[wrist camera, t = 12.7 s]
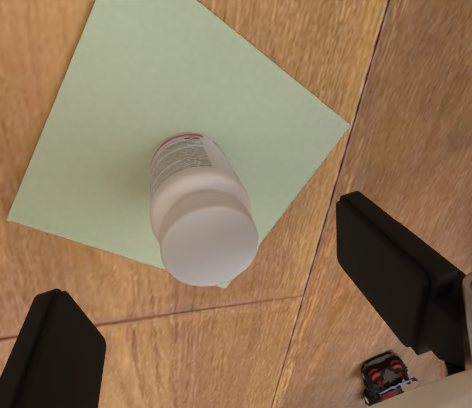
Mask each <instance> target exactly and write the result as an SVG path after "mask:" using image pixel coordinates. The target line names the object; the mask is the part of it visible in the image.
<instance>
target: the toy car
mask: <svg viewBox="0 0 472 408" xmlns="http://www.w3.org/2000/svg"><path fill="white" fill-rule="evenodd" d="M407 371H408V370H407V367H406V366H405V364H404V363H403V361H402V360H401V359H400V358H399V357H398V356H397V355H396V354H394V352H392V353H391V354H387V355H384V356H381V357H379V358H377V359H375V360H372V361H371V362H369V363H368V364H364V368H362V369H361V373H362V376H363V378H364V382H363V383H364V385H365V386H366V390H367V392H364V393H363V397H364V400H365V404H367V405H368V406H371V405H374V404H376V403H379V402H382V401H384V400H387V399H389V398H392V397H394V396H397V395H399V394H402V392H404V391H402V389H401V386H400V385H403V384H405V383H407V384H411V382H410V381H418V380H417V379H416V378H415V377H414V378H411V379H410V380H409V378H408V374H407ZM403 379H404V380H405V381H404V382H402V380H403ZM389 386H391V387H389Z"/></svg>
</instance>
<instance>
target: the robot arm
mask: <svg viewBox="0 0 472 408" xmlns="http://www.w3.org/2000/svg"><path fill="white" fill-rule="evenodd" d="M336 229H337V259H338V262H339V264H340V266H341V267H342V268H343V269H344V271H345V272H346V273H347V274H348V276H349V277H350V278H351V280H352V281H353V282H354V283H355V285H356V286H357V287H358V288H359V290H360V291H361V292H362V293H363V295H364V296H365V297H366V298H367V300H368V301H369V302H370V303H371V305H372V306H373V307H374V309H375V310H376V311H377V312H378V314H379V315H380V316H381V317H382V319H383V320H384V321H385V322H386V324H387V325H388V326H389V327H390V329H391V330H392V331H393V333H394V334H395V335H396V336H397V338H398V339H399V340H400V341H401V342H402V344H403V345H405V346H406V347H411V348H412V349H413V350H414V351H415V353H416V354H417V355H421V354H423V353H426V352H428V351H431V350H432V352H433V353H434V354H435V355H436V356H437V357H438V358H439V359H440V362H441V379H439V380H437V381H434V382H431V383H429V384H426V385H423V386H421V387H418V388H415V389H413V390H410V391H407V392H405V393H402V394H399V395H397V396H394V397H392V398H389V399H387V400H384V401H382V402H379V403H376V404H374V405H371V406H369V407H366V408H472V272H471V273H469V274H467V275H465V274H464V273H463V272H462V271H460V270H459V269H458V268H457V267H455V266H454V265H453V264H451V263H450V262H449V261H448V260H446V259H445V258H444V257H443V256H441V255H440V254H439V253H438V252H436V251H435V250H434V249H432V248H431V247H430V246H429V245H427V244H426V243H425V242H424V241H422V240H421V239H420V238H419V237H417V236H416V235H415V234H413V233H412V232H411V231H410V230H408V229H407V228H406V227H405V226H403V225H402V224H401V223H399V222H398V221H396V220H395V219H393V218H392V217H391V216H390V215H388V214H387V213H386V212H385V211H383V210H382V209H381V208H379V207H378V206H377V205H376V204H374V203H373V202H372V201H371V200H369V199H368V198H367V197H366V196H364V195H363V194H362V193H361V192H359V191H355V192H352V193H349V194H345V195H342V196H341V197H340V201H338V202H337V203H336ZM105 352H106V342H105V339H104V337H103V336H102V335H101V333H100V332H99V331H98V330H97V328H96V327H95V326H94V325H93V323H92V322H91V321H90V320H89V318H88V317H87V316H86V315H85V313H84V312H83V311H82V310H81V308H80V307H79V306H78V305H77V303H76V302H75V301H74V300H73V298H72V297H71V296H70V295H69V293H67V292H66V291H61V290H60V289H54V290H51V291H47V292H44V293H41V294H38V295H37V296H36V297H35V298H34V300H33V303H32V305H31V307H30V310H29V312H28V314H27V317H26V319H25V321H24V324H23V326H22V328H21V331H20V333H19V335H18V338H17V340H16V342H15V345H14V347H13V349H12V352H11V354H10V356H9V359H8V361H7V363H6V366H5V368H4V370H3V373H2V375H1V377H0V408H98V402H99V395H100V388H101V381H102V374H103V366H104V359H105Z"/></svg>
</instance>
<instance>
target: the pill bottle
mask: <svg viewBox="0 0 472 408" xmlns="http://www.w3.org/2000/svg"><path fill="white" fill-rule="evenodd" d="M251 216H252V208H251V202H250V198H249V196H248V193H247V191H246V189H245V188H244V186H243V184H242V182H241V181H240V179H239V178H238V176H237V174H236V172H235V171H234V169H233V167H232V166H231V164H230V162H229V161H228V159H227V157H226V155H225V154H224V152H223V151H222V149H221V148H220V147H219V146H218V145H217V144H216V143H215V142H214V141H213V140H211V139H210V138H208V137H206V136H204V135H201V134H197V133H182V134H178V135H175V136H173V137H171V138H169V139H167V140H166V141H165V142H163V143H162V144H161V145H160V146H159V148H158V149H157V150H156V152H155V154H154V156H153V158H152V162H151V168H150V221H151V227H152V230H153V233H154V235H155V237H156V239H157V241H158V242H159V245H160V253H161V259H162V262H163V264H164V266H165V268H166V270H167V271H168V272H169V273H170V274H171V275H172V276H173V277H174V278H175V279H177V280H179V281H181V282H183V283H186V284H189V285H193V286H213V285H217V284H221V283H224V282H227V281H229V280H231V279H233V278H235V277H236V276H238V275H239V274H241V273H242V272H243V271H244V270H245V269H246V268H247V267H248V266H249V265H250V264H251V262H252V261H253V259H254V257H255V255H256V253H257V250H258V246H259V236H258V231H257V228H256V225H255V224H254V222H253V220H252V217H251Z"/></svg>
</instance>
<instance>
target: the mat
mask: <svg viewBox="0 0 472 408" xmlns="http://www.w3.org/2000/svg"><path fill="white" fill-rule="evenodd" d="M349 127H350V124H349V123H348V122H346V121H345V120H344V119H343V118H341V117H340V116H339V115H338V114H337V113H335V112H334V111H333V110H332V109H330V108H329V107H328V106H327V105H325V104H324V103H323V102H322V101H321V100H319V99H318V98H317V97H316V96H314V95H313V94H312V93H311V92H309V91H308V90H307V89H306V88H305V87H303V86H302V85H301V84H300V83H298V82H297V81H296V80H295V79H293V78H292V77H291V76H290V75H289V74H287V73H286V72H285V71H284V70H282V69H281V68H280V67H279V66H277V65H276V64H275V63H274V62H272V61H271V60H270V59H269V58H268V57H266V56H265V55H264V54H263V53H261V52H260V51H259V50H258V49H256V48H255V47H254V46H253V45H252V44H250V43H249V42H248V41H247V40H245V39H244V38H243V37H242V36H240V35H239V34H238V33H237V32H236V31H234V30H233V29H232V28H231V27H229V26H228V25H227V24H226V23H224V22H223V21H222V20H221V19H220V18H218V17H217V16H216V15H215V14H213V13H212V12H211V11H210V10H208V9H207V8H206V7H205V6H204V5H202V4H201V3H200V2H199V1H197V0H95V3H94V5H93V8H92V10H91V13H90V15H89V18H88V20H87V23H86V25H85V27H84V30H83V32H82V35H81V37H80V40H79V42H78V45H77V47H76V50H75V52H74V54H73V57H72V59H71V62H70V64H69V67H68V69H67V72H66V74H65V77H64V79H63V81H62V84H61V86H60V89H59V91H58V94H57V96H56V99H55V101H54V104H53V106H52V109H51V111H50V113H49V116H48V118H47V121H46V123H45V126H44V128H43V131H42V133H41V136H40V138H39V140H38V143H37V145H36V148H35V150H34V153H33V155H32V158H31V160H30V163H29V165H28V167H27V170H26V172H25V175H24V177H23V180H22V182H21V185H20V187H19V190H18V192H17V195H16V197H15V199H14V202H13V204H12V207H11V209H10V212H9V214H8V217H7V220H9V221H12V222H15V223H19V224H22V225H25V226H28V227H31V228H34V229H38V230H41V231H44V232H47V233H50V234H53V235H57V236H60V237H63V238H66V239H69V240H72V241H76V242H79V243H82V244H85V245H88V246H92V247H95V248H98V249H101V250H104V251H107V252H111V253H114V254H117V255H120V256H123V257H126V258H130V259H133V260H136V261H139V262H142V263H146V264H149V265H152V266H155V267H158V268H161V269H165V270H166V268H165V266H164V264H163V262H162V259H161V253H160V245H159V242H158V241H157V239H156V237H155V235H154V233H153V230H152V227H151V221H150V168H151V162H152V158H153V156H154V154H155V152H156V150H157V149H158V148H159V146H160V145H161V144H162V143H163V142H165V141H166V140H167V139H169V138H171V137H173V136H175V135H178V134H182V133H197V134H201V135H204V136H206V137H208V138H210V139H211V140H213V141H214V142H215V143H216V144H217V145H218V146H219V147H220V148H221V149H222V151H223V152H224V154H225V155H226V157H227V159H228V161H229V162H230V164H231V166H232V167H233V169H234V171H235V172H236V174H237V176H238V178H239V179H240V181H241V182H242V184H243V186H244V188H245V189H246V191H247V193H248V196H249V198H250V202H251V208H252V216H251V217H252V220H253V222H254V224H255V225H256V228H257V231H258V236H259V244H260V243H261V242H262V240H263V239H264V238H265V236H266V235H267V234H268V232H269V231H270V230H271V229H272V227H273V226H274V225H275V223H276V222H277V221H278V219H279V218H280V217H281V216H282V214H283V213H284V212H285V210H286V209H287V208H288V206H289V205H290V204H291V202H292V201H293V200H294V199H295V197H296V196H297V195H298V193H299V192H300V191H301V189H302V188H303V187H304V186H305V184H306V183H307V182H308V180H309V179H310V178H311V176H312V175H313V174H314V173H315V171H316V170H317V169H318V167H319V166H320V165H321V163H322V162H323V161H324V159H325V158H326V157H327V156H328V154H329V153H330V152H331V150H332V149H333V148H334V146H335V145H336V144H337V143H338V141H339V140H340V139H341V137H342V136H343V135H344V133H345V132H346V131H347V130H348V128H349ZM231 281H232V279H231V280H229V281H227V282H224V283H221V284H217V285H215V286H219V287H222V288H226V287H227V286H228V285H229V283H230V282H231Z"/></svg>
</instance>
